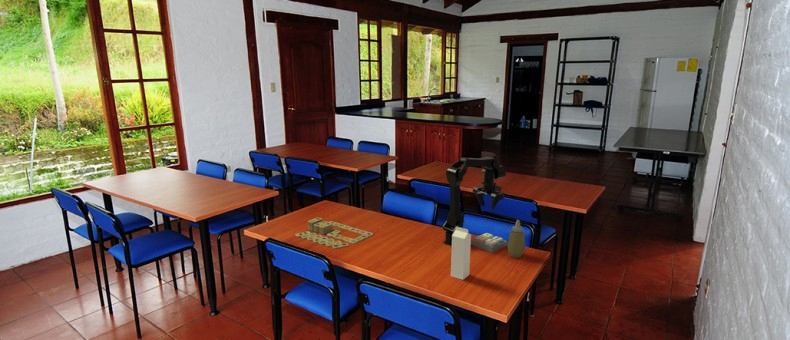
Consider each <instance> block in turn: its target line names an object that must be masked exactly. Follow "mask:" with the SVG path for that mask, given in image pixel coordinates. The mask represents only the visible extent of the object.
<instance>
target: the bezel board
mask: <svg viewBox="0 0 790 340" xmlns="http://www.w3.org/2000/svg"><path fill="white" fill-rule="evenodd" d="M481 236H482V234H481ZM493 237H495V236H494V235H493ZM475 238H476V237H474V238H471V246H474V247H476V248H479V249H481V250H484V251H486V252H488V253H492V254H493V253H495V252H497V251H499V250H501V249H503V248H505V247H508V241H507V240H505V239H503V242H501V243H499V244H498V243H496V245H494V246H489V245H486V244H485V242H482V243H481V242H478V241H475Z"/></svg>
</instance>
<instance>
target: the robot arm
mask: <svg viewBox="0 0 790 340" xmlns="http://www.w3.org/2000/svg"><path fill="white" fill-rule="evenodd" d="M461 167H462V168H461ZM469 167H484V168H483V169H482V170H481V171H480V173H481V174H483V178H482V181H481V182H480V184H482V186H481V185H479V186H478V185H477V186H473V187H472V193H473V195H475V197H476V199H477V201H478V204H479V206H480V207H483V202H484V197H485V195H487V196H489V197H490V199H489V201H490V209H491V211H492V212H493V211H495V208H496V206H497V204H498V202H499V201H502V200H504V199H505V198H504V197H505V195H504V194H503V193H502V188H503V186H500V185H497V183H496V182H495V180H499V179H503V178H505V177H506V176H507V172H506V170H505V168H504V165H500V164H499V162H498V160H497V158H495V157H490V156H482V157H480V158H476V157H475V158H473V157H460V159H458V160H457V161H456V162H454V163H452V164H451V165H450V166H449V167H448V168H447V169H446V170H445V176H446V181H447V182H448V184H449V213H448V214H447V217H446V221H445V222H444V223H443V225H442V230H443V231H445V233H444V235H445V239H444V240H443V241H442V243H444V244H446V245H448V246H451V247H452V235H453V233H454V232H455V230H456V227H460V228H463V227H464V223H465V215H464V214H462V213H461V208H460V207H461V203H460V202H461V199H460V198H461V196H460V195H461V190H460V188H461V184H462V183H463V181H464V176H465V175H466V174H467V172H468V168H469Z"/></svg>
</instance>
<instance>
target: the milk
mask: <svg viewBox="0 0 790 340" xmlns="http://www.w3.org/2000/svg"><path fill="white" fill-rule="evenodd" d="M471 240H472V234H471V233H469V229H467V228H463V227H462V228H460V227H456V230H455V232H454V233H453V235H452V246H451V255H450V257H451V260H450V261H451V262H450V266H451V267H450V277H452V278H455V279H458V280H462V281H464V280H465V279H466V278H467V277H469V276H470V269H471V268H470V266H471V265H470V264H471V246H472V245H471Z"/></svg>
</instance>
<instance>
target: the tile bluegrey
mask: <svg viewBox="0 0 790 340" xmlns="http://www.w3.org/2000/svg"><path fill="white" fill-rule="evenodd" d="M491 239H492V240H495V241H497V243H498V244H499V243H501V242H503V240H504V239H503V237H499V236H497V235H496V236H494V237H493V238H491Z"/></svg>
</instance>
